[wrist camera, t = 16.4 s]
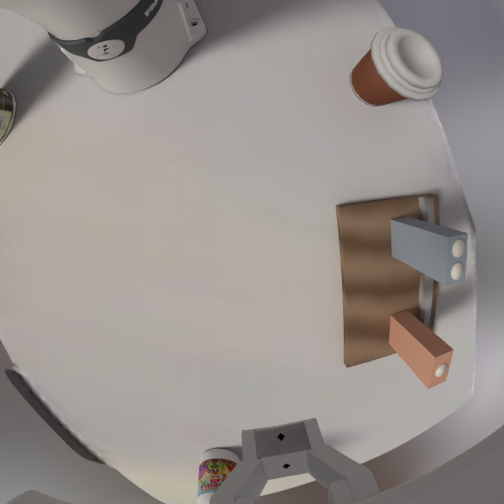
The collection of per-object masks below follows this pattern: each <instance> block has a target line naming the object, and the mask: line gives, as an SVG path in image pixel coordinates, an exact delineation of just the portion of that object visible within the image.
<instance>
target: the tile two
mask: <svg viewBox="0 0 504 504" xmlns="http://www.w3.org/2000/svg"><path fill="white" fill-rule="evenodd" d="M390 223H391V245H392V257H394V258H396V259H398V260H400V261H402V262H403V263H405V264H407V265H409V266H411V267H413V268H415V269H416V270H418V271H420V272H422V273H424V274H425V275H427V276H429V277H431V278H433V279H434V280H436V281H438V282H440V283H441V284H443V285H445V286H447V285H451V284H454V283H457V282H460V281H463V280H465V272H466V259H467V233H464V232H461V231H457V230H454V229H451V228H447V227H444V226H440V225H437V224H433V223H429V222H426V221H422V220H418V219H414V218H411V217H404V218H398V219H391V220H390Z"/></svg>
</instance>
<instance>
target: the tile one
mask: <svg viewBox="0 0 504 504" xmlns="http://www.w3.org/2000/svg"><path fill="white" fill-rule="evenodd" d="M389 344H390V345H391V347H392V348H393V349H394V350H395V351H396V352H397V353H398V354H399V356H400V357H401V358H402V359H403V360H404V361H405V362H406V364H407V365H408V366H409V367H410V368H411V369H412V371H413V372H414V373H415V374H416V375H417V376H418V378H419V379H420V380H421V381H422V382H423V384H424V385H425V386H426V387H427V388H428V389H429V388H431V387H433V386H435V385H438V384H440V383H442V382H444V381H446V378H447V374H448V371H449V367H450V363H451V359H452V355H453V349H452V348H451V347H450V346H449V345H448V344H446V343H445V342H444V341H443V340H442V339H441V338H440V337H438V336H437V335H436V334H435V333H434V332H432V331H431V330H430V329H429V328H428V327H427V326H425V325H424V324H423V323H422V322H421V321H419V320H418V319H417V318H416V317H415V316H413V315H412V314H411V313H410V312H409V311H404V312H400V313H397V314H393V315H391V319H390V334H389Z"/></svg>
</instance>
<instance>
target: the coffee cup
mask: <svg viewBox="0 0 504 504" xmlns="http://www.w3.org/2000/svg"><path fill="white" fill-rule="evenodd" d="M370 45H371V49H370V50H369V51H368V52H367V54H366V55H365V56H364V57H363V58H362V59H361V61H360V62H359V63H358V64H357V65H356V67H355V68H354V69H353V70H352V72H351V74H350V86H351V88H352V91H353V93H354V94H355V95H356V96H357V98H358V99H359V100H361V101H362V102H364V103H365V104H367V105H371V106H375V107H376V106H381V105H384V104H388V103H392V102H395V101H399V100H403V99H407V98H408V99H411V100H414V101H419V100H427V99H430V98H431V97H432V96H434V94H436V93H437V92H438V90H439V87H440V83H441V78H442V74H443V69H442V63H441V60H440V58H439V55H438V53H437V51H436V50H435V49H434V47H433V46H432V45H431V43H430V42H429V41H428V40H427V39H425V38H424V37H423V36H422V35H420V34H419V33H417V32H414V31H412V30H409V29H403V28H400V27H386V28H384V29H382V30H381V31H379V32H377V33H376V34H375V36H374V38H373V40H372V42H371V44H370Z"/></svg>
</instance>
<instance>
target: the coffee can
mask: <svg viewBox="0 0 504 504" xmlns="http://www.w3.org/2000/svg"><path fill="white" fill-rule="evenodd" d="M15 113H16V100H15V96H14V94H13V93H12V92H11V91H9V90H5V89H1V88H0V144H1V143H2V142H3V141H4V140H5V138H6V137H7V135H8V133H9V131H10V129H11V127H12V124H13V121H14V117H15Z"/></svg>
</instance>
